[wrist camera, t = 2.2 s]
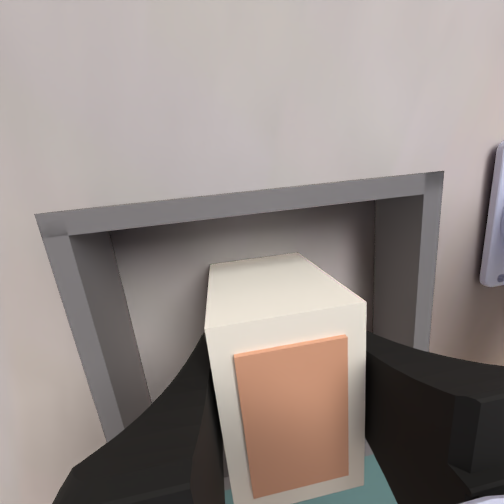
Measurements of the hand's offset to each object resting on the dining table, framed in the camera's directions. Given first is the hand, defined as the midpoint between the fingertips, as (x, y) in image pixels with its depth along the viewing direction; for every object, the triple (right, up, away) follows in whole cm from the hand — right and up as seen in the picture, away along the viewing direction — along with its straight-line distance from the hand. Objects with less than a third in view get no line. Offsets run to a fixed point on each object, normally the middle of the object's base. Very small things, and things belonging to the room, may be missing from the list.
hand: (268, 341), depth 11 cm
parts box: (0, 0, +2) cm, 2 cm away
